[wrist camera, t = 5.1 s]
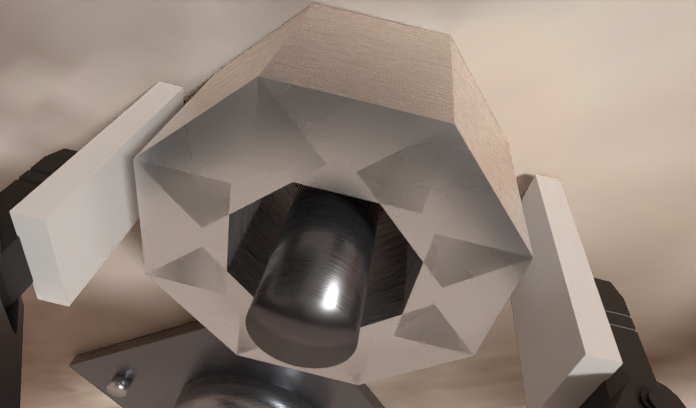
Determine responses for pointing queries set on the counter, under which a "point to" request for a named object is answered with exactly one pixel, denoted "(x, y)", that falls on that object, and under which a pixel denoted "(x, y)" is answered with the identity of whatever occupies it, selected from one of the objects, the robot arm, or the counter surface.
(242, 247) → the octagonal ball socket
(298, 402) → the hub
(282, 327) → the stand rod
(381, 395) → the counter surface
